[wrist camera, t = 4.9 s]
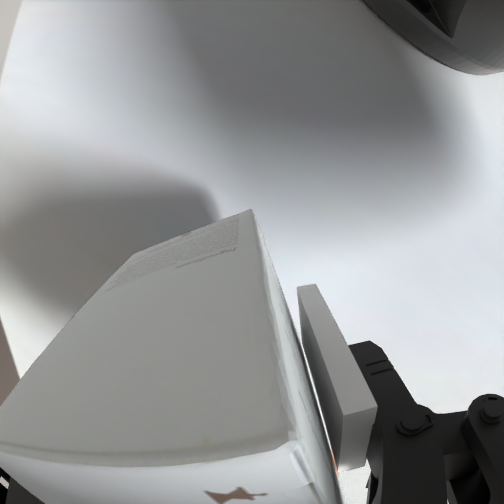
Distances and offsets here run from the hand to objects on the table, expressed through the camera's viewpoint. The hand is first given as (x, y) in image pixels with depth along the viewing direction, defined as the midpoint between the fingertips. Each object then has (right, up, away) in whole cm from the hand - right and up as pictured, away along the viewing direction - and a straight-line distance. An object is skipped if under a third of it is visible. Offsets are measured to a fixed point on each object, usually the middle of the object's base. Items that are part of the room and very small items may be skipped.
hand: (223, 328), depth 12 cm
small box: (0, 0, +2) cm, 2 cm away
